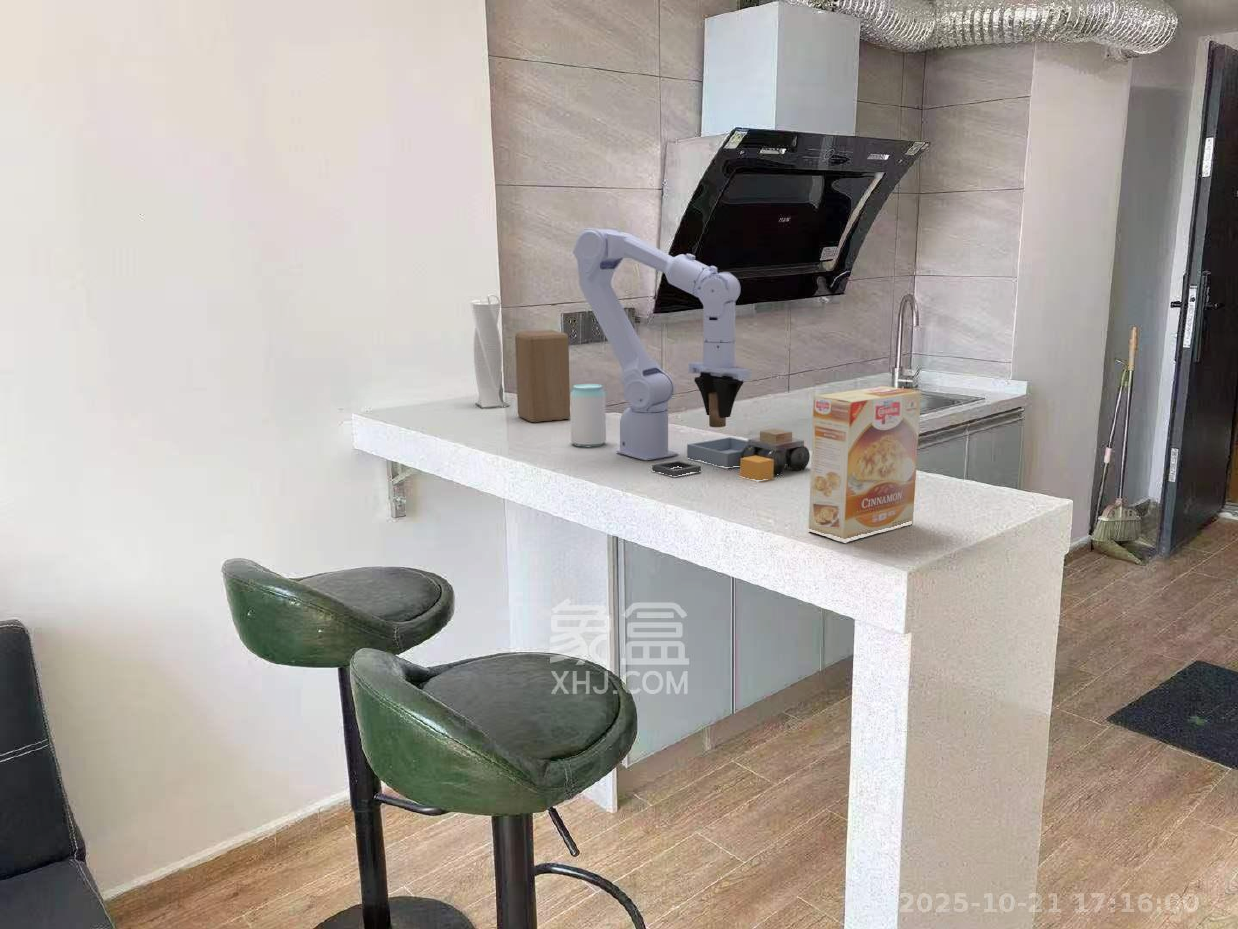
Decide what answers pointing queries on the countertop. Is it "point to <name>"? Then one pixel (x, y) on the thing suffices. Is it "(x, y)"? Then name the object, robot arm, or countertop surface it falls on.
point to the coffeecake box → (863, 460)
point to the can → (588, 415)
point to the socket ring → (667, 469)
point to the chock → (756, 467)
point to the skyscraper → (488, 353)
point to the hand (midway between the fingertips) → (718, 415)
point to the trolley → (779, 449)
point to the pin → (715, 412)
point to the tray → (718, 451)
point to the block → (542, 375)
